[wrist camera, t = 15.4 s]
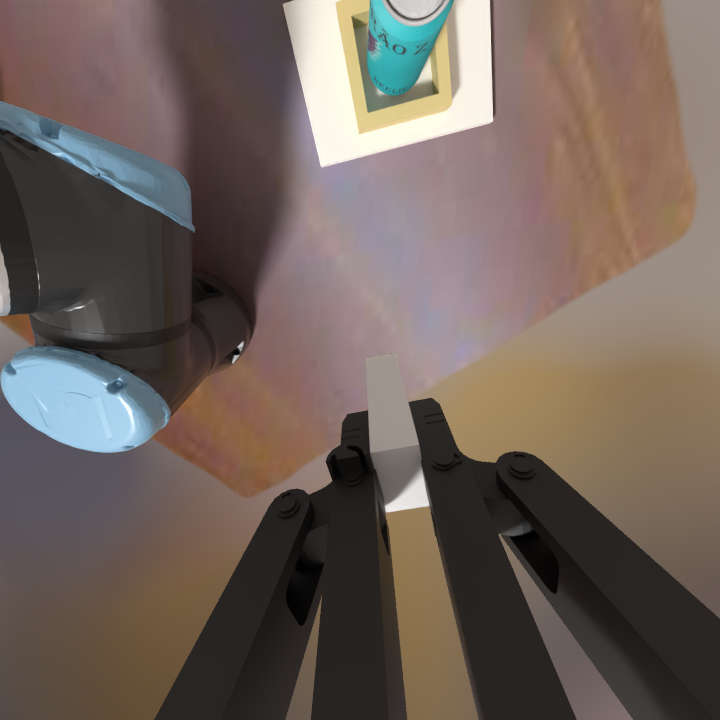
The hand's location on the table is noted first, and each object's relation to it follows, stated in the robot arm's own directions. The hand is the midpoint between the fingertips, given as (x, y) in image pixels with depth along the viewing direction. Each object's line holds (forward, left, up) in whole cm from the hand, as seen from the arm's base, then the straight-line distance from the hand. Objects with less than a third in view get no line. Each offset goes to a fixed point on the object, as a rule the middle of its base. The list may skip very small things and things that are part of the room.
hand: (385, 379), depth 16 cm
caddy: (+7, +20, -30) cm, 37 cm away
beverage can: (+7, +20, -30) cm, 36 cm away
